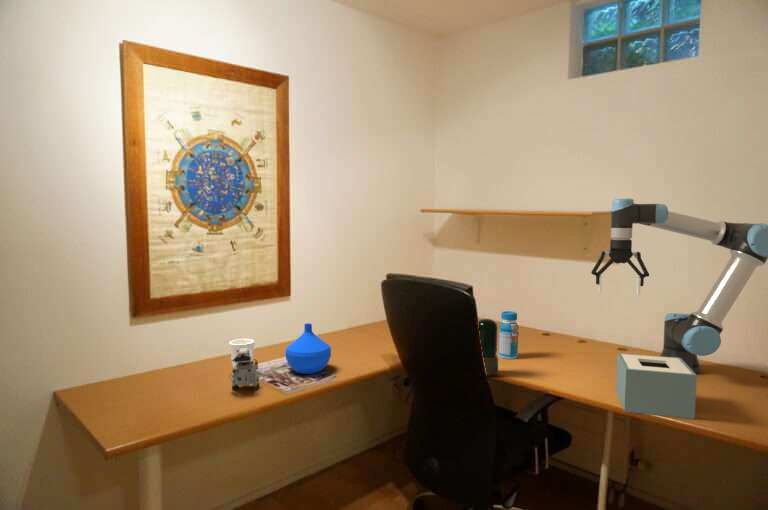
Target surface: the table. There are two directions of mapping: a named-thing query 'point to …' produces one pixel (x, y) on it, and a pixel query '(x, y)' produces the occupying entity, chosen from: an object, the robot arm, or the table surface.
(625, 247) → the robot arm
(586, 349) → the table surface
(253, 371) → the figurine
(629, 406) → the box
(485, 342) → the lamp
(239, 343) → the foam cup
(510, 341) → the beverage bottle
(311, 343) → the vase
